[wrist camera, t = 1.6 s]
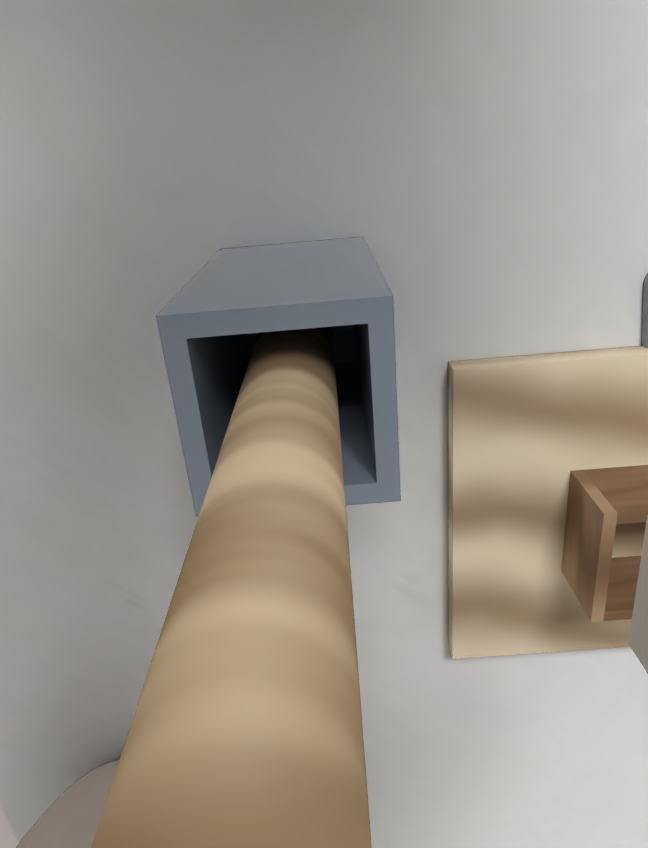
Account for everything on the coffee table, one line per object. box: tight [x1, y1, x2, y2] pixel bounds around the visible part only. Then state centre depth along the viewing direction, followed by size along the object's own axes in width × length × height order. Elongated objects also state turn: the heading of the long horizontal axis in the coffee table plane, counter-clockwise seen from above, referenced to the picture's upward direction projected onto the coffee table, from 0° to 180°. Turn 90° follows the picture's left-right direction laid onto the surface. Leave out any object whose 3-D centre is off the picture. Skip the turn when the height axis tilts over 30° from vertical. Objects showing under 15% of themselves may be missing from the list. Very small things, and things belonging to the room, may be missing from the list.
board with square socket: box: [449, 346, 648, 659], centre depth 31 cm, size 18×18×5 cm
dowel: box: [91, 327, 372, 848], centre depth 17 cm, size 3×3×24 cm
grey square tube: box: [156, 237, 401, 516], centre depth 23 cm, size 6×6×12 cm
